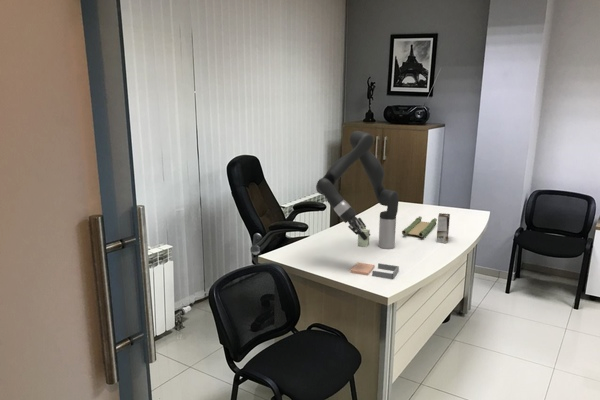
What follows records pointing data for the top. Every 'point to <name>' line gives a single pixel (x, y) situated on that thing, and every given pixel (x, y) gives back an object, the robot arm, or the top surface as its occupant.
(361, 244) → the sage block
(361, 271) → the terracotta tile
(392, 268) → the charcoal channel
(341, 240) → the top surface
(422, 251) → the top surface
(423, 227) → the stretcher
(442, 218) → the coffee box
